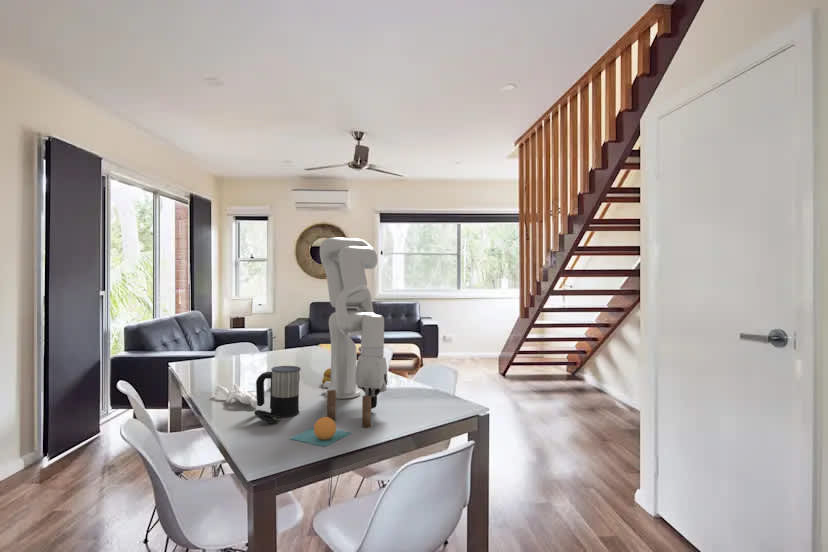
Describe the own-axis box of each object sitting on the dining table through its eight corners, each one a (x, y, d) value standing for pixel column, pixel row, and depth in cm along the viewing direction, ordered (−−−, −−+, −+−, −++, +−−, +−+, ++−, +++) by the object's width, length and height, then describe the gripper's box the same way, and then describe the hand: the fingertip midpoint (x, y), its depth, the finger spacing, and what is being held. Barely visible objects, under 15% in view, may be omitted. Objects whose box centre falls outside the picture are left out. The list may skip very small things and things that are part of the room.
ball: (316, 411, 128) (323, 426, 131) (307, 428, 123) (314, 443, 126) (335, 412, 126) (341, 427, 129) (327, 430, 122) (333, 445, 125)
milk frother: (298, 408, 155) (299, 364, 155) (303, 422, 140) (304, 374, 140) (253, 412, 150) (254, 366, 150) (254, 427, 136) (254, 377, 136)
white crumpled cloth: (210, 401, 168) (240, 417, 150) (208, 385, 167) (239, 400, 149) (241, 391, 176) (273, 406, 158) (239, 377, 175) (271, 390, 158)
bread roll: (327, 388, 183) (328, 368, 183) (315, 384, 190) (315, 364, 190) (354, 383, 192) (354, 364, 192) (341, 379, 199) (341, 361, 199)
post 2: (360, 427, 137) (360, 396, 137) (365, 424, 139) (365, 394, 139) (367, 428, 136) (368, 398, 136) (372, 426, 138) (372, 396, 138)
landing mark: (289, 438, 126) (289, 438, 126) (318, 426, 137) (318, 425, 137) (324, 446, 121) (324, 446, 121) (351, 433, 132) (351, 432, 132)
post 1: (325, 420, 143) (325, 391, 143) (330, 417, 145) (330, 389, 145) (332, 421, 142) (332, 392, 142) (337, 419, 144) (337, 390, 144)
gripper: (347, 351, 152) (346, 407, 152) (385, 355, 145) (385, 414, 145) (359, 348, 159) (359, 401, 159) (397, 352, 152) (397, 408, 152)
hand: (371, 407), depth 152 cm, fingers closed
